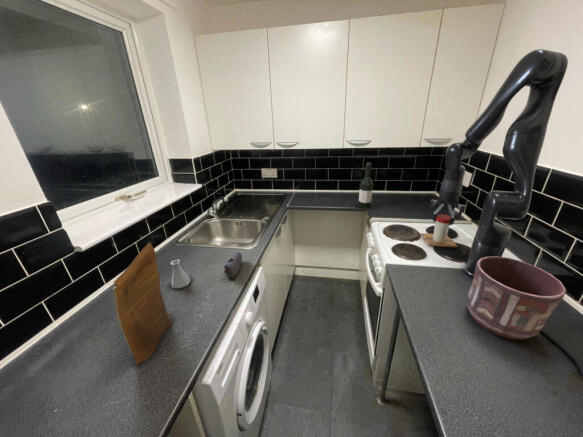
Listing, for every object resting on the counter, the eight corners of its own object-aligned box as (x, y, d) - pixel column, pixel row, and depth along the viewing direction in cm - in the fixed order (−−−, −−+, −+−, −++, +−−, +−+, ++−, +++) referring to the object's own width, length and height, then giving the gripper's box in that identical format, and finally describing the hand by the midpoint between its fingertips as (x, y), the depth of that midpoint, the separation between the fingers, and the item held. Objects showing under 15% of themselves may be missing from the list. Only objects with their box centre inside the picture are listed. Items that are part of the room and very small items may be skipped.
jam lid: (442, 216, 112) (443, 213, 111) (453, 221, 107) (454, 218, 106) (432, 219, 111) (433, 215, 110) (443, 224, 105) (444, 220, 105)
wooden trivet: (457, 247, 107) (458, 246, 107) (429, 246, 109) (430, 245, 109) (446, 235, 118) (446, 234, 117) (421, 234, 120) (421, 233, 119)
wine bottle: (369, 204, 162) (373, 161, 150) (371, 208, 155) (377, 164, 142) (357, 204, 163) (360, 161, 151) (359, 208, 155) (363, 164, 143)
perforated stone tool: (235, 259, 105) (233, 246, 102) (246, 260, 104) (245, 247, 101) (222, 281, 91) (219, 266, 88) (234, 282, 90) (232, 267, 87)
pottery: (454, 323, 69) (470, 274, 62) (467, 293, 80) (482, 249, 73) (536, 363, 58) (569, 309, 50) (538, 321, 69) (565, 272, 61)
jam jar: (447, 242, 110) (452, 220, 105) (434, 241, 111) (439, 220, 106) (442, 236, 115) (447, 215, 110) (430, 236, 116) (434, 215, 111)
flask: (169, 290, 87) (162, 269, 83) (173, 279, 94) (166, 258, 89) (189, 286, 89) (184, 265, 85) (192, 275, 95) (186, 255, 91)
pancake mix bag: (183, 312, 77) (161, 240, 65) (150, 370, 59) (111, 285, 48) (163, 313, 77) (138, 240, 66) (124, 370, 60) (80, 285, 48)
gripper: (471, 189, 100) (462, 224, 107) (434, 184, 109) (427, 216, 116) (469, 194, 95) (458, 230, 102) (430, 188, 104) (423, 221, 111)
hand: (442, 222), depth 109 cm, fingers closed on jam lid, 6 cm apart
